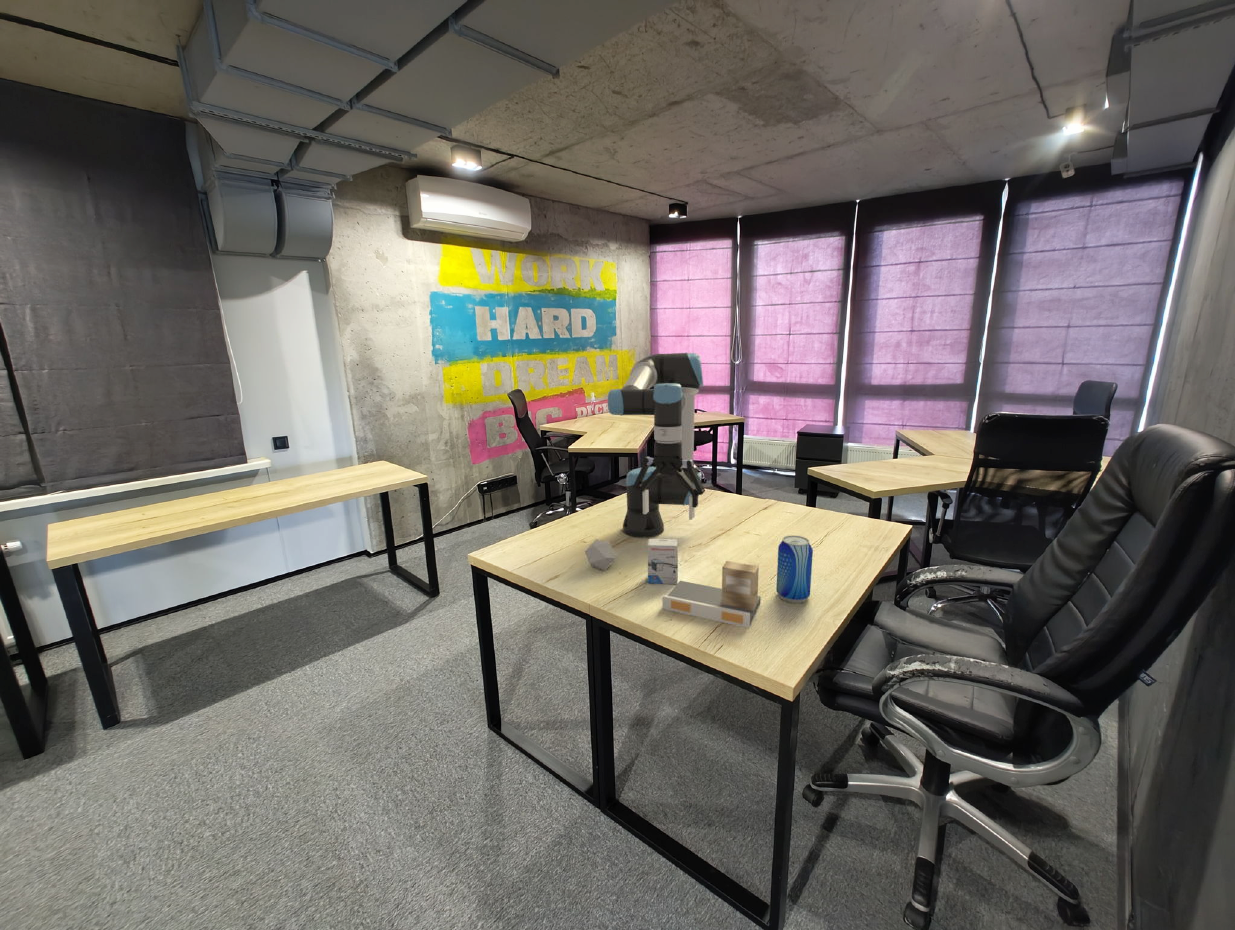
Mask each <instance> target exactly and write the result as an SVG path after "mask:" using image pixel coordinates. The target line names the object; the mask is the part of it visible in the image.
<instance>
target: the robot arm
mask: <svg viewBox="0 0 1235 930" xmlns="http://www.w3.org/2000/svg"><path fill="white" fill-rule="evenodd" d="M703 386H704V378H703V370H702V362H701V356H700V355H699V354H698V353H696V352H693V353H692V352H679V353H678V352H675V353H655V354H652V355H648V356H646V357H644V358H642V359H640V360H638V361H637V362H636V363H635V364H634V365H633V366H632V368H631V370H630V375H629V377H628V379H627V381H626V382H625V383H624V385H623V386H622V388H621V389H620V388H617V389H611V390H609V392H608V395H607V409H608V412H609V413H610V415H613V416H653V419H654V420H653V421H654V423H653V434H654V435H653V436H654V438H653V439H654V440H655V441H654V443H653V445H654V446H653V447H654V448H653V454H654V457H650V455H649V456H646V457H643V459H642V460H643V461H642V467H639V468H638V467H637V468H635V469H632V470H630V471H629V472H627V475H626V481H625V485H626V487H625V488H626V513H625V516H624V520H623V523H622V532H623V533H624V534H625V535H627V536H630V537H635V538H651V537H655V536H656V537H657V536H659V535H661V534H662V533H664V531H665V525H664V521H663V519H662V515H661V512H660V506H659V505H668V506H671V505H672V506H673V505H676V506H683V507H684V506H689V507H688V520H689V521H690V520H691V521H692V520H694V518H695V512H696V511H695V509H696V508H698V506H699V496H702V495H703V494H704V493H705V492H706V490H705V487H704V485H703V482H702V474H703V473H702V472H700V471H698V470H699V469H698V466H697V465H696V464H695V463H694V456H695V455H694V454H695V452H694V450H695V448H694V446H695V444H694V443H695V400H696V398H695V396H696V395H697V394H698V393H699V392H700V387H703ZM652 387H653V388H652ZM652 464H653V465H654V466H652Z"/></svg>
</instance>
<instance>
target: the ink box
mask: <svg viewBox="0 0 1235 930" xmlns="http://www.w3.org/2000/svg"><path fill="white" fill-rule="evenodd" d="M678 547H679V546H678V540H677V539H674V538H671V539H670V538H649V539H647V584H654V585H655V584H658V585H659V584H660V585H677V584H678V582H679V580H678V579H679V565H678V564H679V554H678V553H679V550H678Z"/></svg>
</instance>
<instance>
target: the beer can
mask: <svg viewBox="0 0 1235 930" xmlns="http://www.w3.org/2000/svg"><path fill="white" fill-rule="evenodd" d="M777 547H778V548H777V549H778V550H777V551H778V552H777V566H776V570H777V571H776V588H775V589H776V591H775V592H776V593H777V595H778V596H779V598H780V599H781V600H782V601H785V602H788V603H792V604H801V603H804V602H806V601H807V600H808V598H809V597H811V596H810V595H811V585H812V571H813V570H812V569H813V568H812V567H813V552H814V549H813V547H812V546H811V544H810V540H809V539H808V538H807V537H804V536H801V535H794V534H793V535H786V536H783V537H782V540H781V541H780V543H779V544H778V546H777Z"/></svg>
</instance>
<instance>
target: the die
mask: <svg viewBox="0 0 1235 930" xmlns="http://www.w3.org/2000/svg"><path fill="white" fill-rule="evenodd" d="M584 554H585V555H586V558H587V561H588V562H589V565H590V567H591V566H593V567H592V568H595V567H596V568H595V569H598V568H599V570H601V569H602V571H606V570H607V568H608V567H610V565H611V564H612V563H613V562H614V561H615V560H616V559H617V557H616V556H617V555H616V553H615V552H614V549H613V547H612V544H611V542H608V541H605V540H600V539H597V538H596V539H595V540H594V541H593V542H592V543H591V544H590V545H589V546H588V547H587V548H586V549H585V551H584Z"/></svg>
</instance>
